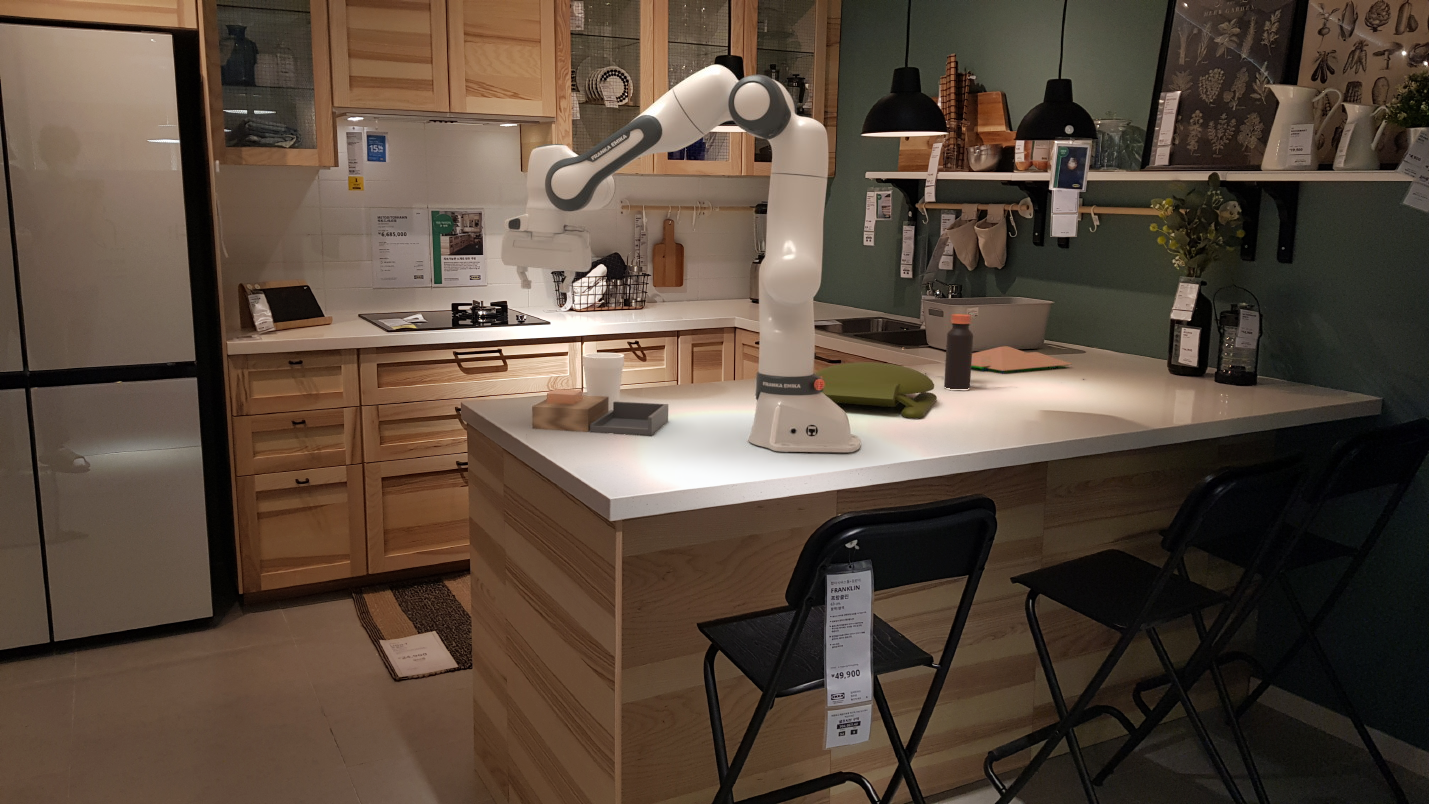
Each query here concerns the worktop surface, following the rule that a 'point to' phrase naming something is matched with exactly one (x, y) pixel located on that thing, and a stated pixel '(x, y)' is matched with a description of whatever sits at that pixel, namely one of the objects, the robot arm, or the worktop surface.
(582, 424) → the walnut platform
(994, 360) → the tan and green mat
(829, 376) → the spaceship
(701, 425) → the worktop surface
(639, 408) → the box
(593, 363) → the foam cup
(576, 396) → the terracotta tile
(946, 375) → the bottle
